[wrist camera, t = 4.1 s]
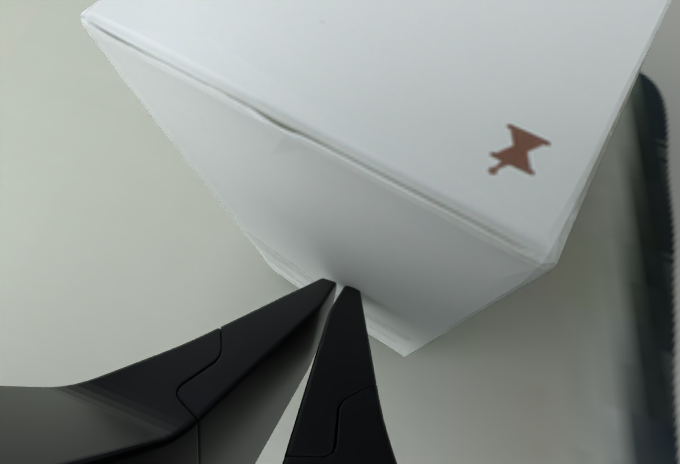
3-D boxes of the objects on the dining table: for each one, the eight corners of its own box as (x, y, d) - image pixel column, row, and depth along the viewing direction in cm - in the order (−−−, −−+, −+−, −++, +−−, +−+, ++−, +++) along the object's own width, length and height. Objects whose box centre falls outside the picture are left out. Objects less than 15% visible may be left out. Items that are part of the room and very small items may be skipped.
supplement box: (485, 223, 17) (757, -120, 5) (405, 362, 15) (568, 294, 3) (353, 154, 19) (343, -214, 7) (266, 268, 17) (49, 7, 5)
